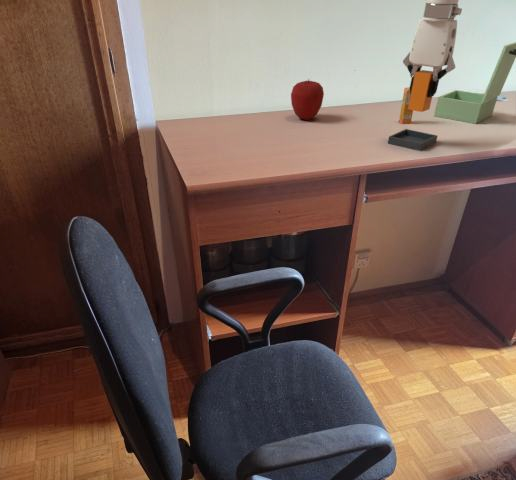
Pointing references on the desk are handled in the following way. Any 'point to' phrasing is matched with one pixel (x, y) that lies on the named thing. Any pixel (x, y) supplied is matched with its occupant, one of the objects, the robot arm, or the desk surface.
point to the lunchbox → (464, 106)
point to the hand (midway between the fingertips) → (421, 94)
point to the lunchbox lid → (500, 72)
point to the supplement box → (406, 108)
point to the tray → (412, 139)
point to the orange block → (420, 91)
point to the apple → (307, 99)
